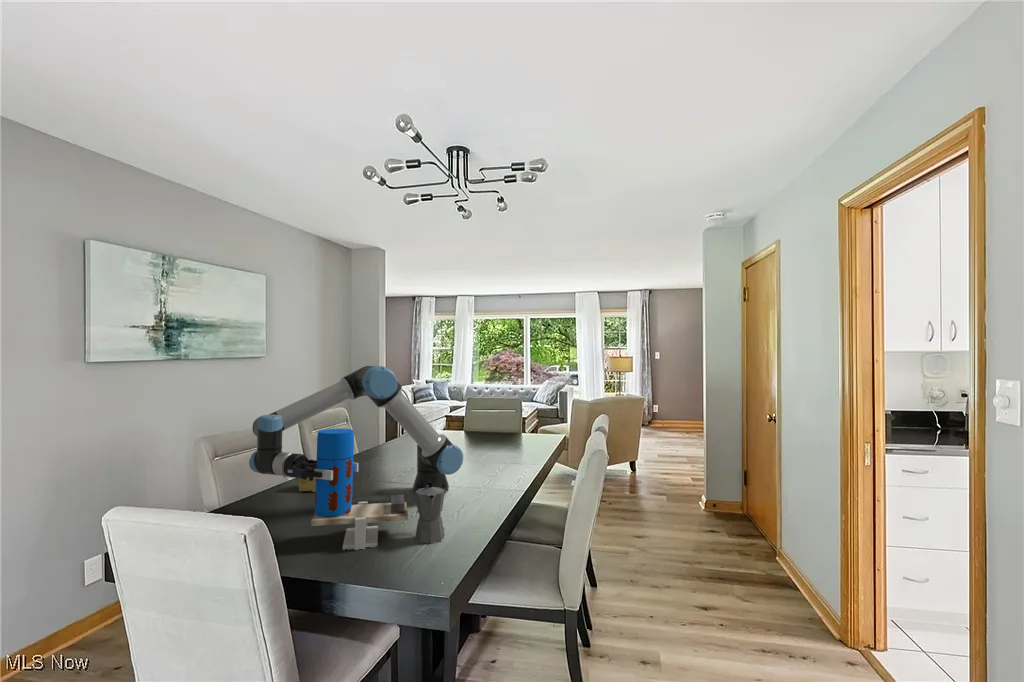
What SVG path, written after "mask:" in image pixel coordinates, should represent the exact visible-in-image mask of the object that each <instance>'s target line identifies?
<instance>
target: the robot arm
mask: <svg viewBox="0 0 1024 682" xmlns="http://www.w3.org/2000/svg"><path fill="white" fill-rule="evenodd" d="M402 390H403V387H402V385H401V384H400V383H399V381H398V379H397V375H396V374H395V373H394V372H393V371H392V369H390V368H388V367H386V366H382V365H366V366H362V367H360V368H359V369H357V370H354V371H353V372H350V373H349V374H347V375H345V376H343V377H341V379H340V381H338V382H336V383H335V384H331V385H330V386H327V387H325V388H323V389H321V390H319V391H316V392H314V393H313V394H310V395H308V396H305V397H303V398H301V399H300V400H297V401H295V402H293V403H291V404H289V405H286V406H284V407H282V408H279V409H278V410H276V411H273V412H271V413H269V414H262V415H260V416H259V417H256V419H255V420H254V421H253V422H252V433H253V434H254V435H255V437H257V438H256V439H257V440H256V441H257V442H256V444H257V445H256V447H257V449H256V451H254V452H253V453H252V454H251V455H250V458H249V461H248V465H249V468H250V470H251V471H252V472H253V473H258V474H262V475H269V476H270V475H271V476H278V477H279V476H281V477H282V478H283V479H284V478H285V479H286V477H288V478H295V479H299V478H301V479H304V480H306V479H307V477H308V478H309V481H313V477H314V478H317V479H325V480H333V471H332V470H323V469H316V460H317V459H316V460H315V459H308V457H307V456H306V455H305V454H301V453H293V452H287V451H286V452H284V451H283V432H284V431H285V430H287V429H290V428H292V427H294V426H296V425H297V424H300V423H302V422H304V421H307V420H308V419H310V418H312V417H314V416H316V415H318V414H320V413H321V414H322V413H323V412H325V411H327V410H330V409H331V408H333V407H335V406H338V405H339V404H341V403H344V402H345V401H346V402H347V400H351V401H354V400H356V399H358V398H361V397H368V398H369V399H370V400H371V401H372V402H373V404H374V405H375V406H377V408H384V410H386V411H387V412H388V414H390V416H391V417H392V418H393V419H394V420H395V421H396V422H397V424H399V425H400V427H401V428H402V429H403V430H404V431H405V432H406V433H407V435H409V437H410V438H412V440H413V441H414V442H415V443H416V444H417V445H416V449H417V450H416V474H415V475H416V476H415V478H414V482H413V484H412V493H413V492H414V493H415V492H416V491H417V490H418V489H421V488H426V486H427V484H428V482H429V481H432V482H433V484H432V487H438V488H442V489H444V490H445V492H446V491H448V489H449V488H450V486H449V481H448V479H447V475H448V476H449V475H453V474H455V473H457V472H458V471H459V470H460V469H461V467H462V465H463V463H464V453H463V451H462V449H461V448H460V447H459V446H458V445H456V444H455V445H454V444H453V443H452V442H451V441H450V439H449V438H448V437H447V436H446V435H445V434H444V433H442V434H441V433H440V434H439V433H438V432H437V430H436V429H435V428H434V427H433V426H432V425H431V424H430V422H428V421H427V419H426V418H425V417H424V416H423V414H421V413H420V411H418V409H417V408H416V407H415V406H414V405H413V403H412V402H411V401H410V400H409V399H408V398H407V397H406V396H405V394H404V393H403V392H402ZM358 472H359V462H353V473H358ZM449 490H450V489H449ZM448 492H449V491H448ZM414 493H413V494H414ZM446 493H447V492H446Z"/></svg>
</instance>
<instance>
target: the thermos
mask: <svg viewBox="0 0 1024 682" xmlns="http://www.w3.org/2000/svg"><path fill="white" fill-rule="evenodd" d="M354 432H355V431H354V430H353V429H349V428H327V429H320V430H318V432H317V437H316V469H323V470H332V471H333V480H325V479H317V478H316V491H315V492H314V493H315V496H314V502H315V503H314V507H315V509H314V510H315V511H314V513H316V515H318V516H322V517H335V516H341V515H345V514H348V513H349V512H350V511H351V505H353V504H352V503H353V486H354V485H353V481H354V480H353V479H354V472H353V463H354V454H355V453H354V451H355V449H354V448H355V447H354V446H355V433H354Z"/></svg>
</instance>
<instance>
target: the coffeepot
mask: <svg viewBox="0 0 1024 682" xmlns="http://www.w3.org/2000/svg"><path fill="white" fill-rule="evenodd" d="M432 484H433V482H432V481H429V482H428V484H427V486H426V488H421V489H418V490H417V491H416V492H415V494H414V496H415V500H416V509H417V513H418V514H419V517H418V519H417V520H418V521H417V524H416V530H415V537H414V540H415V541H416V540H417V541H418V542H417V541H416V542H417V543H419V542H420V544H422V543H433V544H435V543H434V542H438V541H440V542H442V541H443V540H444V539H443V538H445V537H444V536H445V530H444V525H443V523H444V522H443V518H442V516H441V513H442V511H443V508H444V507H443V506H444V500H445V494H446V493H445V490H444V489H442V488H438V487H432ZM442 539H443V540H442ZM441 540H442V541H441ZM438 543H439V542H438Z"/></svg>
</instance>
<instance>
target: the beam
mask: <svg viewBox="0 0 1024 682" xmlns="http://www.w3.org/2000/svg"><path fill="white" fill-rule="evenodd" d="M407 507H408V506H407V501H405V496H404V494H391V495H390V502H379V503H368V504H358V503H357V504H356V503H355V504H352V505H351V511H350V512H349V513H348V514H345V515H341V516H335V517H322V516H318V515H316V513H315V512H314V514H313V515H312V518H311V521H310V523H311V524H310V526H311V527H315V526H316V527H317V526H331V525H333V526H334V525H350V524H355V518H361V517H366V523H368V524H369V523H382V522H385V523H387V522H399V521H400V522H401V521H408V520H409V514H408V508H407Z"/></svg>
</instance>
